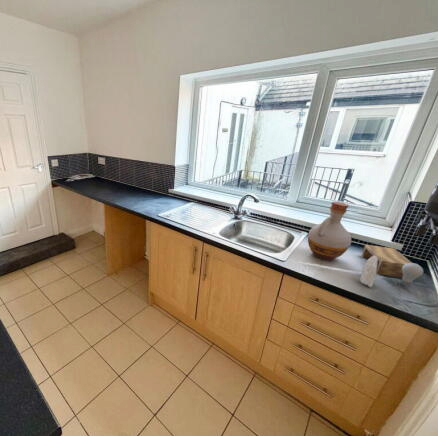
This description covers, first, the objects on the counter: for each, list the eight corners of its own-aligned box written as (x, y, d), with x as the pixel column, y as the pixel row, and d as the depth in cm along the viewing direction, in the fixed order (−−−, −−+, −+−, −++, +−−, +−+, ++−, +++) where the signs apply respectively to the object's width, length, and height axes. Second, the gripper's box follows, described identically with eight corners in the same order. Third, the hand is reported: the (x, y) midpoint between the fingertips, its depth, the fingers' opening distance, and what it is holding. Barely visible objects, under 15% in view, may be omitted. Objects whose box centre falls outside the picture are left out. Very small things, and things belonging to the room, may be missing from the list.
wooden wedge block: (389, 260, 126) (394, 248, 123) (409, 279, 110) (416, 265, 107) (361, 256, 130) (365, 244, 127) (376, 273, 114) (382, 260, 111)
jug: (327, 270, 117) (347, 212, 105) (293, 252, 132) (307, 200, 120) (351, 261, 124) (372, 206, 113) (316, 245, 139) (332, 195, 128)
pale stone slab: (360, 271, 114) (369, 251, 110) (372, 274, 112) (381, 254, 108) (359, 283, 106) (368, 262, 102) (372, 287, 104) (381, 265, 99)
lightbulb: (418, 290, 103) (430, 268, 98) (404, 290, 103) (415, 268, 98) (404, 281, 108) (415, 260, 104) (391, 281, 108) (401, 260, 104)
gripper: (472, 207, 85) (451, 248, 90) (443, 197, 97) (426, 234, 103) (443, 204, 87) (424, 245, 93) (418, 195, 100) (403, 231, 105)
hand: (425, 239), depth 98 cm, fingers open, 8 cm apart
